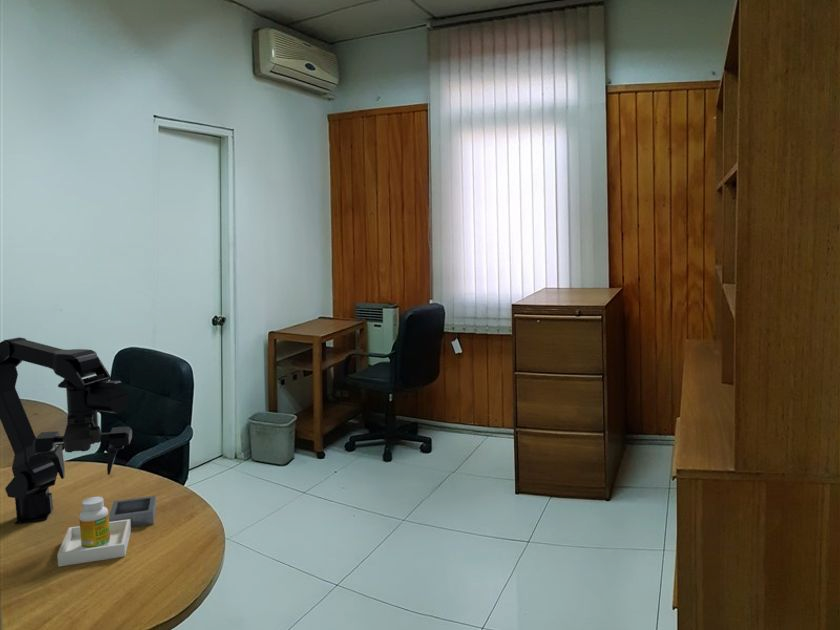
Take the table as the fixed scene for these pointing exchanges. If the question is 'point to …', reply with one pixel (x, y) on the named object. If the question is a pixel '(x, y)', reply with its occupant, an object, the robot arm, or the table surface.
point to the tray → (76, 554)
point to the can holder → (134, 511)
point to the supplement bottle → (94, 523)
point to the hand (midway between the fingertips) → (86, 476)
